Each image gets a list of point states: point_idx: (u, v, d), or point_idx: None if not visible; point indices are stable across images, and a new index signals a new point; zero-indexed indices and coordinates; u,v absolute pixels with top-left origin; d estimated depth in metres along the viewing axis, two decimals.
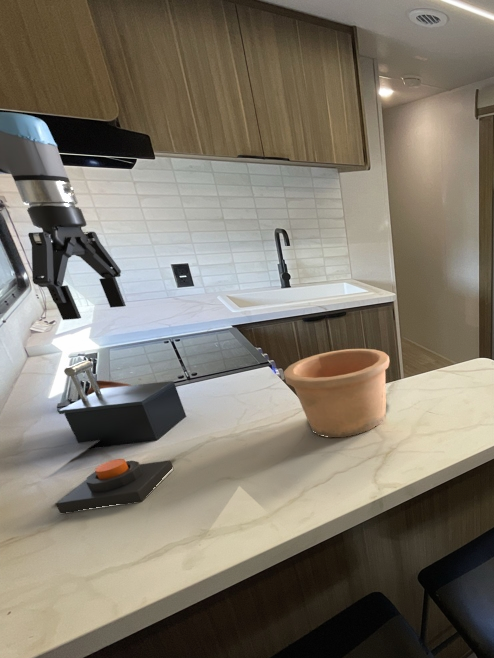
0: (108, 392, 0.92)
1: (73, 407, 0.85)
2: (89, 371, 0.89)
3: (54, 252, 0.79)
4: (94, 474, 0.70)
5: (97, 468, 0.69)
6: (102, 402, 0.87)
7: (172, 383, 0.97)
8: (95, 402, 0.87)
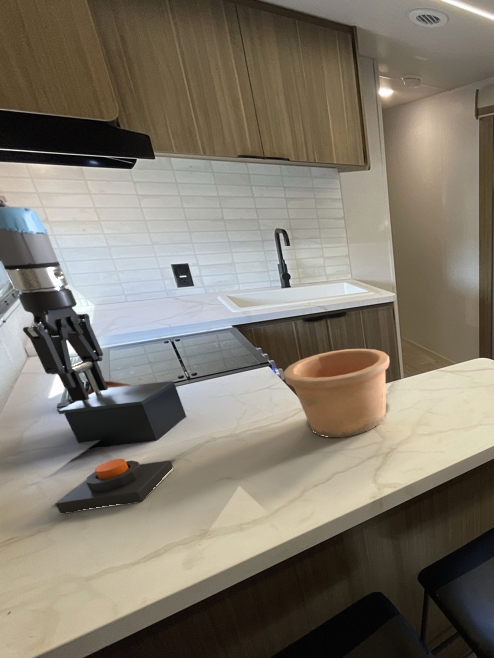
0: (108, 392, 0.92)
1: (73, 407, 0.85)
2: (89, 371, 0.89)
3: (51, 338, 0.82)
4: (94, 474, 0.70)
5: (97, 468, 0.69)
6: (102, 402, 0.87)
7: (172, 383, 0.97)
8: (95, 402, 0.87)
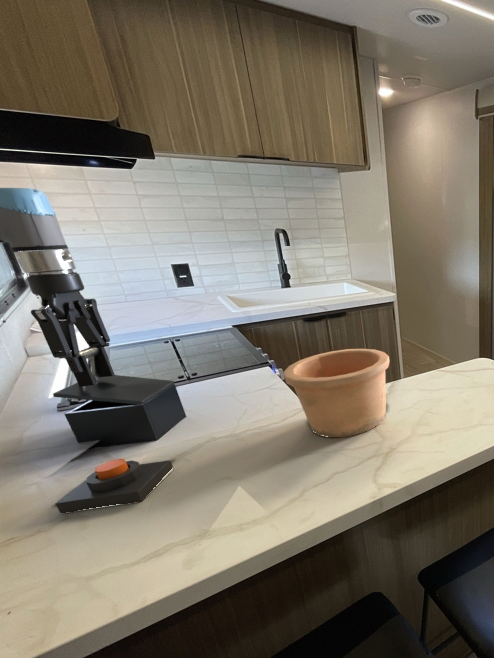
0: (105, 380, 0.91)
1: (69, 392, 0.84)
2: (93, 357, 0.89)
3: (59, 322, 0.81)
4: (94, 474, 0.70)
5: (97, 468, 0.69)
6: (100, 393, 0.86)
7: (172, 383, 0.97)
8: (92, 391, 0.86)
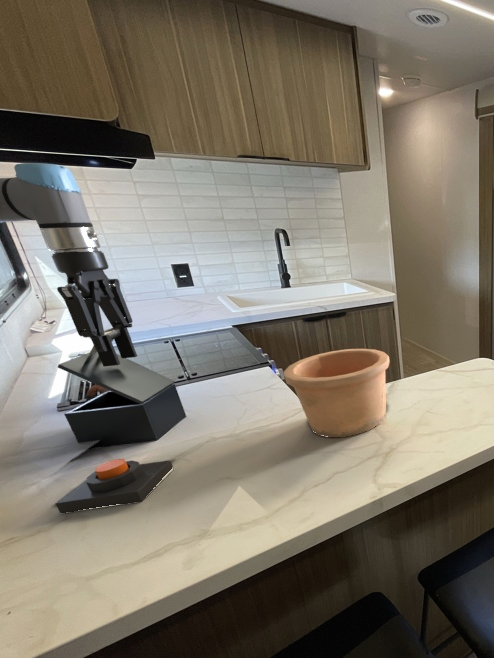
0: None
1: (75, 368, 0.82)
2: (112, 338, 0.88)
3: (84, 300, 0.81)
4: (94, 474, 0.70)
5: (97, 468, 0.69)
6: (104, 377, 0.85)
7: (172, 383, 0.97)
8: (97, 372, 0.85)
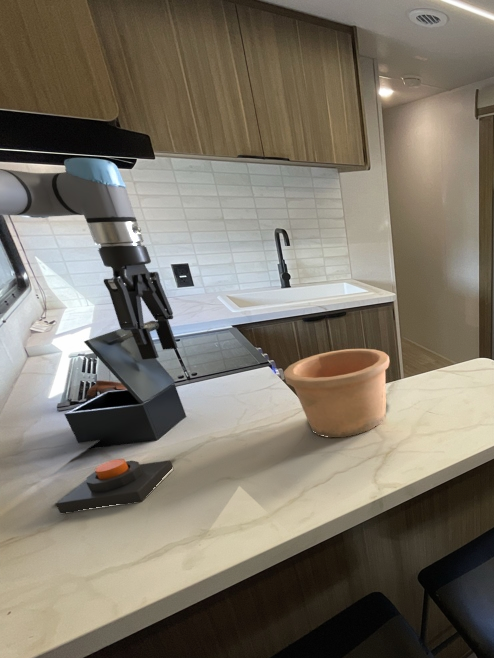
0: (130, 344, 0.90)
1: (99, 347, 0.82)
2: None
3: None
4: (94, 474, 0.70)
5: (97, 468, 0.69)
6: (120, 365, 0.85)
7: None
8: (115, 357, 0.85)
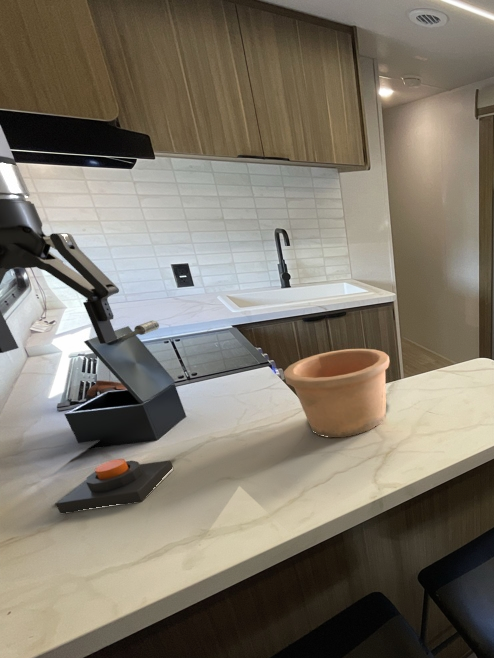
0: (130, 344, 0.90)
1: (99, 347, 0.82)
2: None
3: None
4: (94, 474, 0.70)
5: (97, 468, 0.69)
6: (120, 365, 0.85)
7: None
8: (115, 357, 0.85)
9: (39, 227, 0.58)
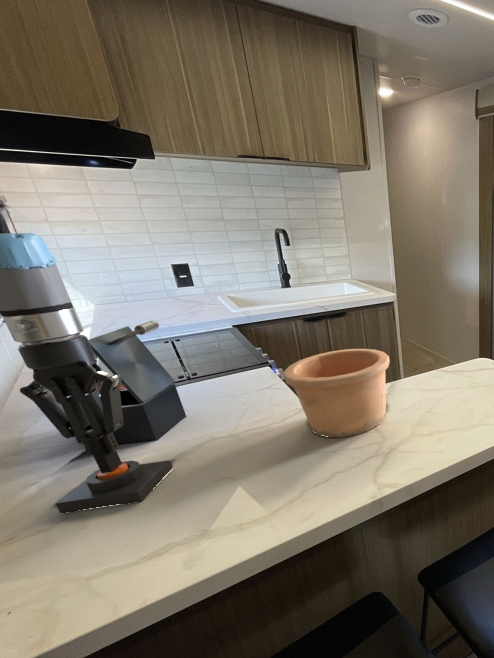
0: (130, 344, 0.90)
1: (99, 347, 0.82)
2: None
3: None
4: (94, 474, 0.70)
5: (99, 473, 0.70)
6: (120, 365, 0.85)
7: None
8: (115, 357, 0.85)
9: (92, 358, 0.65)
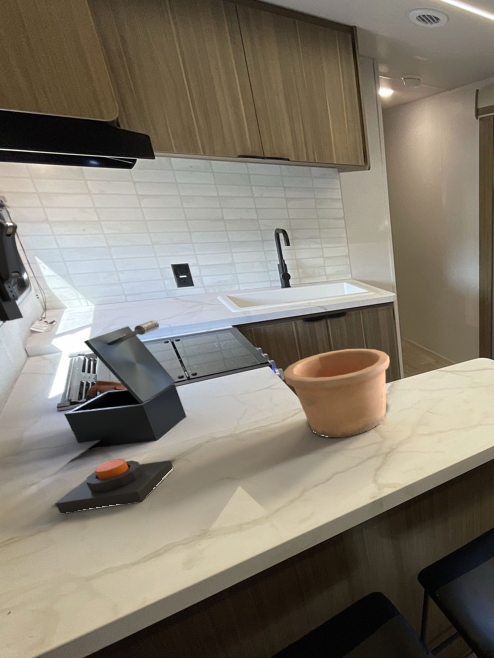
0: (130, 344, 0.90)
1: (99, 347, 0.82)
2: None
3: None
4: (94, 474, 0.70)
5: (97, 468, 0.69)
6: (120, 365, 0.85)
7: None
8: (115, 357, 0.85)
9: None
